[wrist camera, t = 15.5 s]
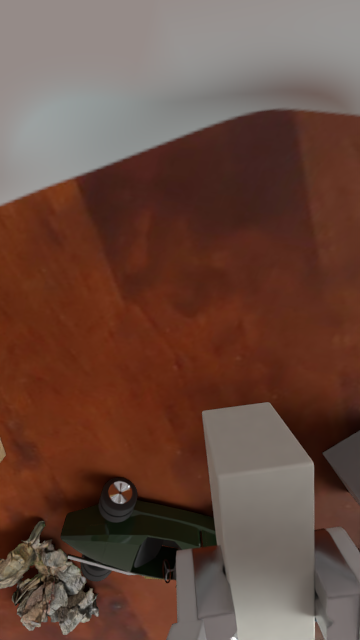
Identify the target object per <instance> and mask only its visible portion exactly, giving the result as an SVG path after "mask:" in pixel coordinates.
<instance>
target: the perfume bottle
mask: <svg viewBox="0 0 360 640" xmlns="http://www.w3.org/2000/svg"><path fill="white" fill-rule="evenodd" d="M323 455H324V456H325V458H326V459H327V461H328V462H329V464H330V465H331V466H332V468H333V469H334V471H335V472H336V474H337V475H338V477H339V478H340V480H341V481H342V482H343V484H344V485H345V487H346V488H347V490H348V491H349V493H350V494H351V495H352V496H353V498H354V499H355V500H356V502H357V503H358V504H359V505H360V431H358V432H356V433H355V434H353V435H351V436H350V437H348V438H346V439H345V440H343V441H341V442H340V443H338V444H336V445H335V446H333V447H331V448H330V449H328V450H327V451H325V452H323Z"/></svg>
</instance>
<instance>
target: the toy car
mask: <svg viewBox="0 0 360 640" xmlns="http://www.w3.org/2000/svg"><path fill="white" fill-rule="evenodd" d="M105 523H106V524H105ZM97 524H99V525H97ZM90 525H91V526H90ZM200 531H202V541H203V547H208V546H215V545H217V540H216V531H215V522H214V518H213V517H209V516H205V515H201V514H198V513H194V512H190V511H186V510H181V509H177V508H172V507H168V506H163V505H159V504H154V503H149V502H143V501H137V489H136V487H135V485H134V484H133V483H132V482H131V481H129V480H127V479H125V478H113V479H111V480H109V481H108V482H107V483H106V484H105V485H104V487H103V490H102V493H101V496H100V499H99V504H97V505H95V506H92V507H88V508H85V509H81V510H78V511H74V512H71V513H68V514H67V515H66V518H65V522H64V525H63V528H62V532H61V540H63V541H64V542H66V543H67V544H69V545H70V546H71V547H73V548H74V549H76V550H77V551H79V552H80V553H82V554H83V555H82V557H78V556H74V555H71V554H68V556H67V558H68V559H71V560H75V561H79V562H81V570H82V573H83V574H84V576H85V577H86V578H87V579H89V580H91V581H101V580H103V579H105V578H106V577H107V576H108V575H109V574H110V573H111V571H116V572H119V573H123V574H127V575H141V576H144V577H146V576H147V577H146V578H147V579H149V578H151V579H160V580H162V579H163V580H165V582H166V583H169V582H170V580H176V552H177V551H179V550H185V549H191V548H192V549H194V548H201V535H200ZM206 531H207V532H206ZM209 532H210V533H209ZM214 534H215V535H214ZM206 542H207V543H206ZM162 545H163V546H162ZM165 546H169V547H165ZM171 547H174V548H171ZM144 579H145V578H144ZM166 580H169V581H168V582H167V581H166ZM176 586H177V584H176ZM175 588H176V587H175Z"/></svg>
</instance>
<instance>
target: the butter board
mask: <svg viewBox="0 0 360 640" xmlns="http://www.w3.org/2000/svg"><path fill="white" fill-rule="evenodd" d="M5 456H6V453H5V450H4V447H3V445H2V442H1V439H0V462H1V461H2V460H3V458H4V457H5Z"/></svg>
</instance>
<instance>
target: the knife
mask: <svg viewBox="0 0 360 640" xmlns="http://www.w3.org/2000/svg"><path fill="white" fill-rule="evenodd" d="M202 418H203V426H204V435H205V444H206V453H207V461H208V470H209V479H210V487H211V496H212V505H213V514H214V522H215V531H216V540H217V545H221V549H222V555H223V560H224V566H225V575H226V577H227V581H228V583H230V587H231V592H232V598H233V603H234V609H235V615H236V623H237V636H238V640H315V588H314V463H313V461H312V460H311V458H310V457H309V456H308V454H307V453H306V452H305V450H304V449H303V447H302V446H301V445H300V443H299V442H298V441H297V439H296V438H295V437H294V435H293V434H292V432H291V431H290V430H289V428H288V427H287V426H286V424H285V423H284V422H283V420H282V419H281V417H280V416H279V415H278V413H277V412H276V411H275V409H274V408H273V407H272V405H271V404H270V403H269V402H265V403H258V404H251V405H243V406H236V407H228V408H221V409H213V410H206V411H203V412H202Z"/></svg>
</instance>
